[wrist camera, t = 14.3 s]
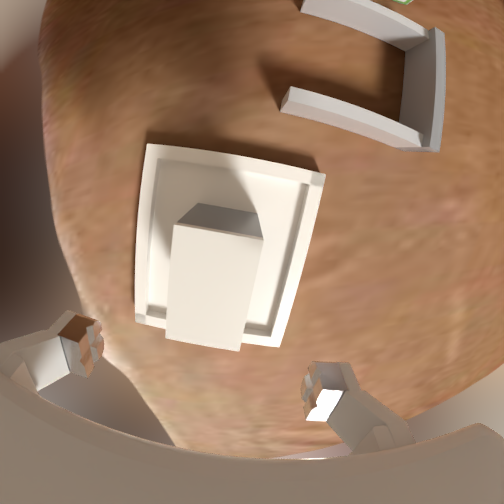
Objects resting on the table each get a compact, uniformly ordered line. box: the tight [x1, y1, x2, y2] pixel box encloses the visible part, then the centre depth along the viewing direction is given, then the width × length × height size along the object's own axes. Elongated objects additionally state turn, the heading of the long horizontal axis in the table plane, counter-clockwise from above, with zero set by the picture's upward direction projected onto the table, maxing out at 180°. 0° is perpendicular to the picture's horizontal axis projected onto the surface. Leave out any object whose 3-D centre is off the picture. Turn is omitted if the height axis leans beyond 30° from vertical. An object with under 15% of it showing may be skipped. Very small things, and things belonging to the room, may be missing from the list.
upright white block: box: [166, 203, 264, 351], centre depth 18 cm, size 4×7×7 cm, turn 169°
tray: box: [135, 144, 326, 347], centre depth 21 cm, size 13×15×2 cm
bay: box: [280, 0, 446, 152], centre depth 15 cm, size 11×11×5 cm
